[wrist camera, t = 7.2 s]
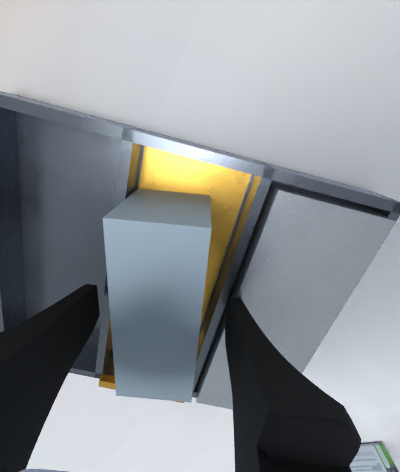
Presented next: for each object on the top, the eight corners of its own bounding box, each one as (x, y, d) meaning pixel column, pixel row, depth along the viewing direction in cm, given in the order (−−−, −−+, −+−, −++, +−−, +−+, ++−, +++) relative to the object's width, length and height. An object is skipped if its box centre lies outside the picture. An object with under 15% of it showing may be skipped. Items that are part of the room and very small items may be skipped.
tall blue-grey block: (210, 195, 13) (211, 228, 9) (195, 331, 17) (191, 402, 13) (138, 188, 13) (102, 217, 9) (140, 325, 17) (116, 395, 13)
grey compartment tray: (372, 192, 14) (420, 209, 11) (268, 380, 20) (279, 426, 17) (13, 94, 12) (-52, 81, 9) (25, 330, 19) (-11, 369, 16)
